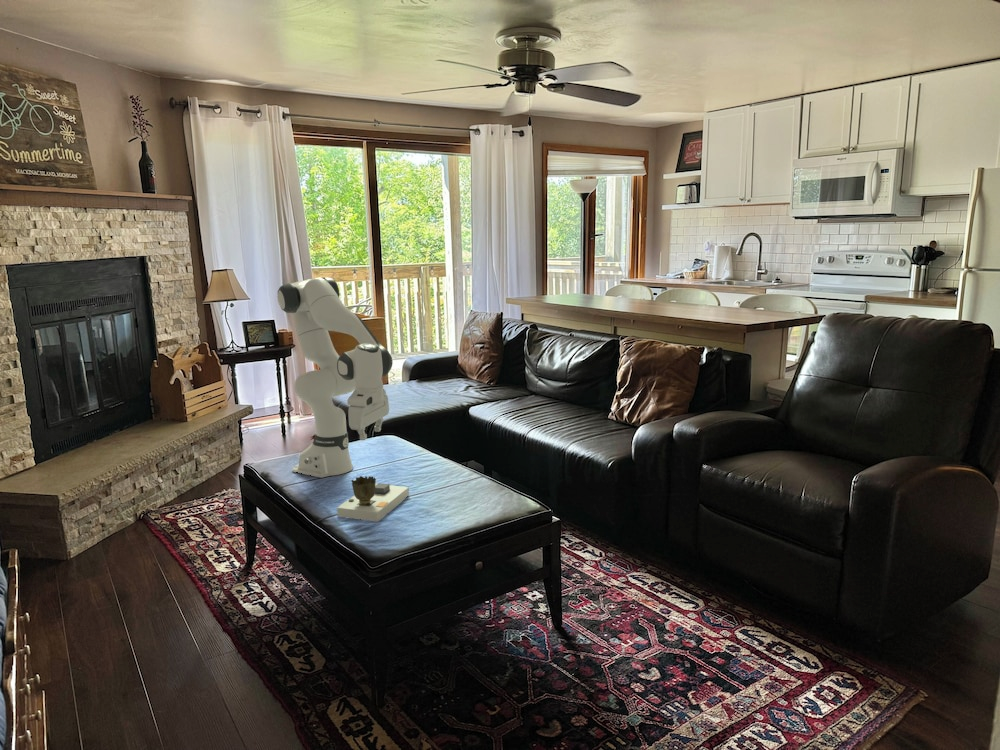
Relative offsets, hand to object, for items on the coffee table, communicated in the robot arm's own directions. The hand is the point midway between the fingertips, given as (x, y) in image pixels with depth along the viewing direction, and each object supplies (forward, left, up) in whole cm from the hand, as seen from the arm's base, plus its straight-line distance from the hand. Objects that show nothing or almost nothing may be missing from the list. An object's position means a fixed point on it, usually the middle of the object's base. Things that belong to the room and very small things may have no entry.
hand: (370, 435), depth 215 cm
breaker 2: (+3, 0, -20) cm, 21 cm away
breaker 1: (+3, -10, -22) cm, 25 cm away
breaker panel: (+3, -5, -22) cm, 23 cm away
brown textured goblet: (+3, -11, -19) cm, 22 cm away
